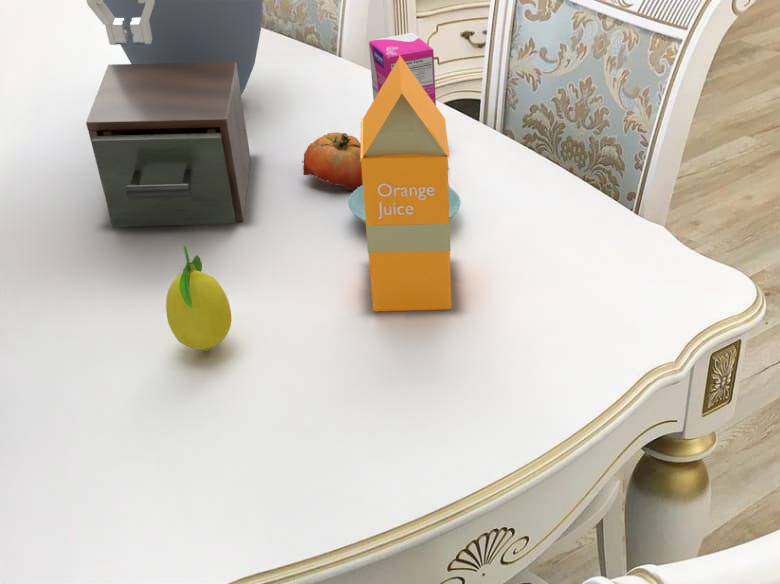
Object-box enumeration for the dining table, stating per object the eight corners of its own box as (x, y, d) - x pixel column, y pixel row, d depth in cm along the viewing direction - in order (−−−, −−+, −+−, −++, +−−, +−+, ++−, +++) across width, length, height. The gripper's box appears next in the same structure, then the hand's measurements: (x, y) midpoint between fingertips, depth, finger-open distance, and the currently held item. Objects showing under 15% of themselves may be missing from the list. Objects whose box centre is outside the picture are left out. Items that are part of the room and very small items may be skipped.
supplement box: (374, 142, 132) (367, 38, 124) (419, 133, 134) (415, 31, 126) (393, 161, 129) (387, 55, 120) (439, 151, 131) (436, 47, 122)
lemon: (206, 378, 97) (184, 272, 90) (157, 358, 99) (131, 253, 92) (256, 343, 101) (239, 240, 94) (208, 325, 103) (187, 222, 96)
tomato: (329, 189, 120) (307, 122, 119) (304, 214, 125) (282, 150, 125) (391, 181, 124) (370, 117, 123) (363, 206, 130) (343, 144, 129)
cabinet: (243, 221, 118) (226, 119, 110) (112, 225, 116) (86, 122, 109) (250, 159, 128) (236, 61, 121) (130, 162, 127) (108, 64, 119)
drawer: (231, 245, 112) (216, 158, 106) (106, 250, 111) (83, 162, 105) (242, 163, 125) (229, 82, 119) (130, 166, 124) (111, 84, 118)
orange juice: (371, 311, 106) (353, 92, 91) (371, 266, 112) (354, 53, 97) (453, 309, 106) (448, 91, 92) (449, 264, 112) (444, 52, 98)
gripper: (224, -150, 94) (249, 28, 104) (-27, -149, 92) (23, 32, 102) (219, -132, 89) (245, 52, 99) (-44, -131, 87) (10, 57, 97)
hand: (131, 42), depth 100 cm, fingers closed
